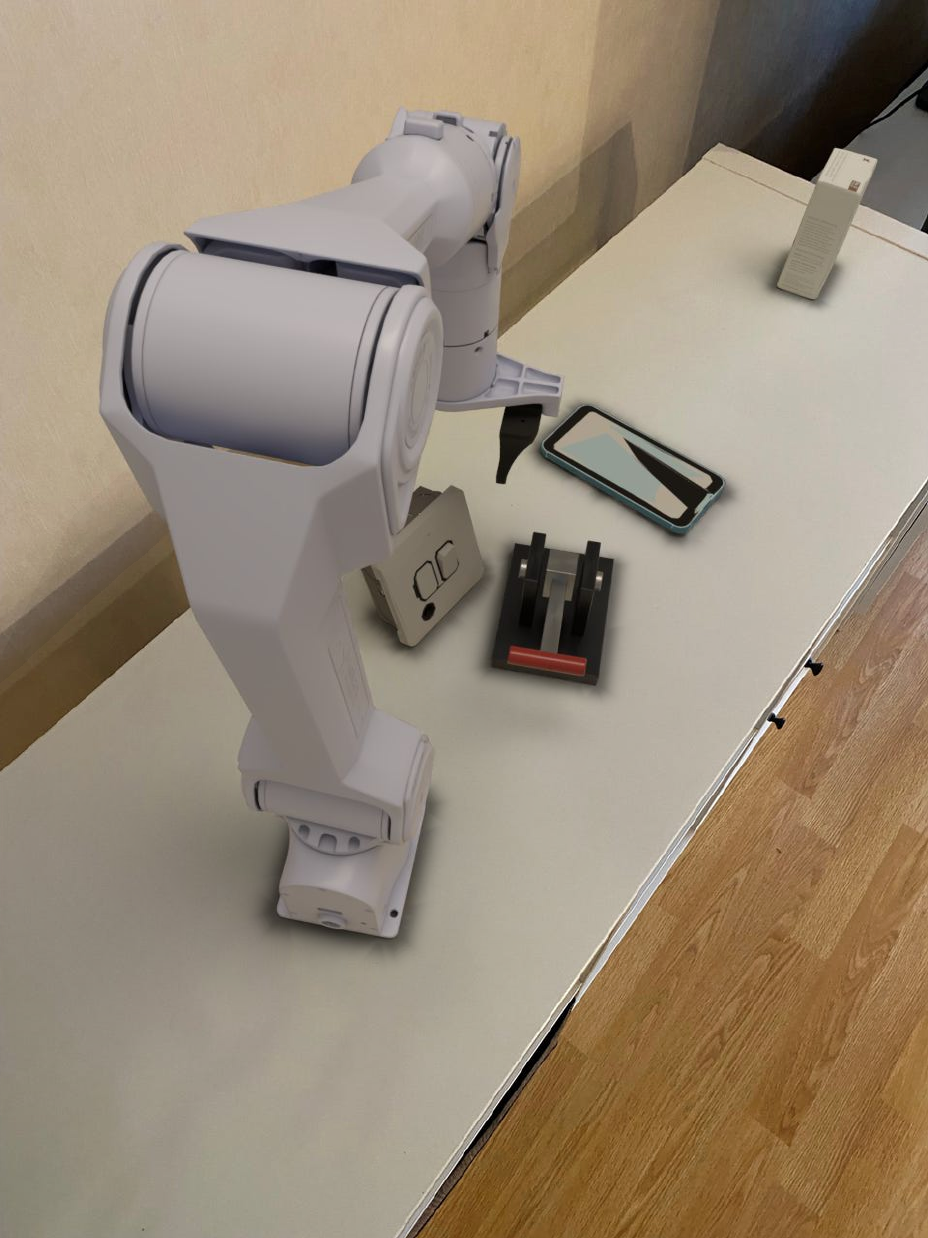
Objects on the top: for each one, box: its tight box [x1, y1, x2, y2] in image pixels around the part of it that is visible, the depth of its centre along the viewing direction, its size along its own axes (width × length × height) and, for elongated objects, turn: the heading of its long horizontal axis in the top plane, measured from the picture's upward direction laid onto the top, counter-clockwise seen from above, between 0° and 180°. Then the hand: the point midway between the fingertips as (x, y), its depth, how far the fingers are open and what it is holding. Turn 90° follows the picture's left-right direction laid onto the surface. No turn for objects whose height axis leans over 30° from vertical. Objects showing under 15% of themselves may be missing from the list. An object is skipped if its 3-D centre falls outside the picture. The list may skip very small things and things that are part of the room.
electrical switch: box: [360, 484, 485, 647], centre depth 72 cm, size 9×5×9 cm, turn 141°
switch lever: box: [508, 548, 587, 676], centre depth 67 cm, size 12×5×2 cm, turn 169°
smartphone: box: [540, 403, 726, 534], centre depth 83 cm, size 7×1×15 cm
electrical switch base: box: [490, 531, 615, 686], centre depth 72 cm, size 11×8×7 cm
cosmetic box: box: [776, 147, 878, 300], centre depth 92 cm, size 6×4×12 cm
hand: (450, 465), depth 70 cm, fingers open, 7 cm apart
